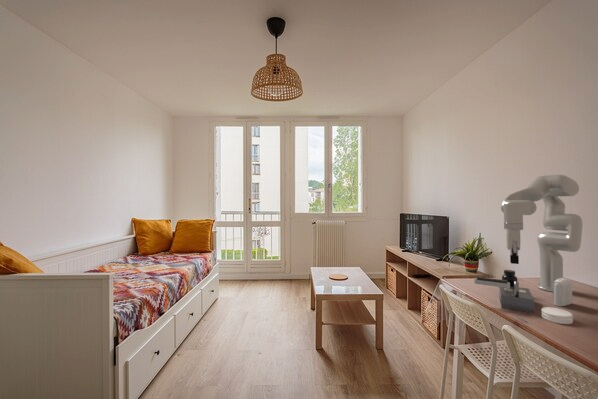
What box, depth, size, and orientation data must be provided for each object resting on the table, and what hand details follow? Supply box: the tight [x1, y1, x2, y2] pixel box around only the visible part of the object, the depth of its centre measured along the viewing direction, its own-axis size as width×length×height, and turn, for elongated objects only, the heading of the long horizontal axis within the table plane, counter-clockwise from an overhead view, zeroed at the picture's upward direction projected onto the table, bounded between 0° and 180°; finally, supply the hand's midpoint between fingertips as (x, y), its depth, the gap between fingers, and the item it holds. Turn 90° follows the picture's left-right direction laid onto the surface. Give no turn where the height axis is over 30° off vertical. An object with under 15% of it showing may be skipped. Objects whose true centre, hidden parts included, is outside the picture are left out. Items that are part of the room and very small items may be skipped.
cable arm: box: [474, 276, 510, 288], centre depth 137 cm, size 14×3×3 cm, turn 55°
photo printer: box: [552, 277, 573, 307], centre depth 136 cm, size 10×4×12 cm, turn 115°
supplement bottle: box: [501, 269, 519, 287], centre depth 153 cm, size 7×7×12 cm
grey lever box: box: [498, 281, 535, 314], centre depth 137 cm, size 18×12×12 cm, turn 147°
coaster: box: [540, 306, 574, 325], centre depth 120 cm, size 10×10×4 cm
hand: (514, 263), depth 140 cm, fingers closed
